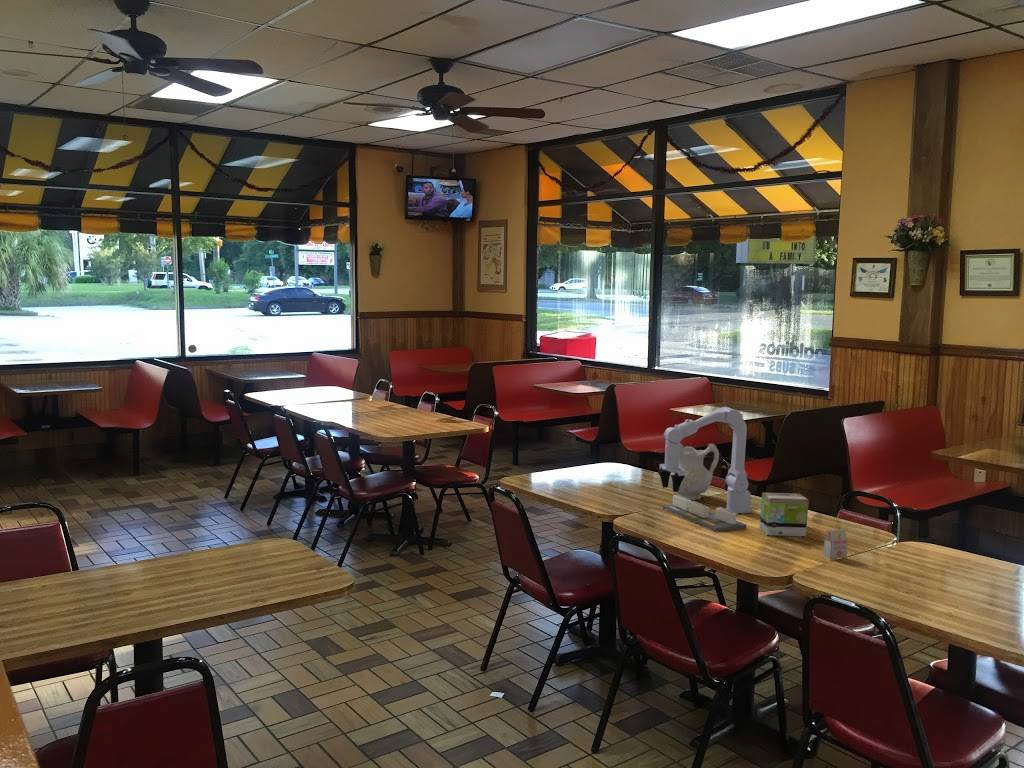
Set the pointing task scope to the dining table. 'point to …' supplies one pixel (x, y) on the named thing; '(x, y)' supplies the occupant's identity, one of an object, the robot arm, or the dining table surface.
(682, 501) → the slider
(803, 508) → the tea box
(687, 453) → the ceramic pitcher
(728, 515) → the slider
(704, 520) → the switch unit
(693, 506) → the slider
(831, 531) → the white gable top carton
